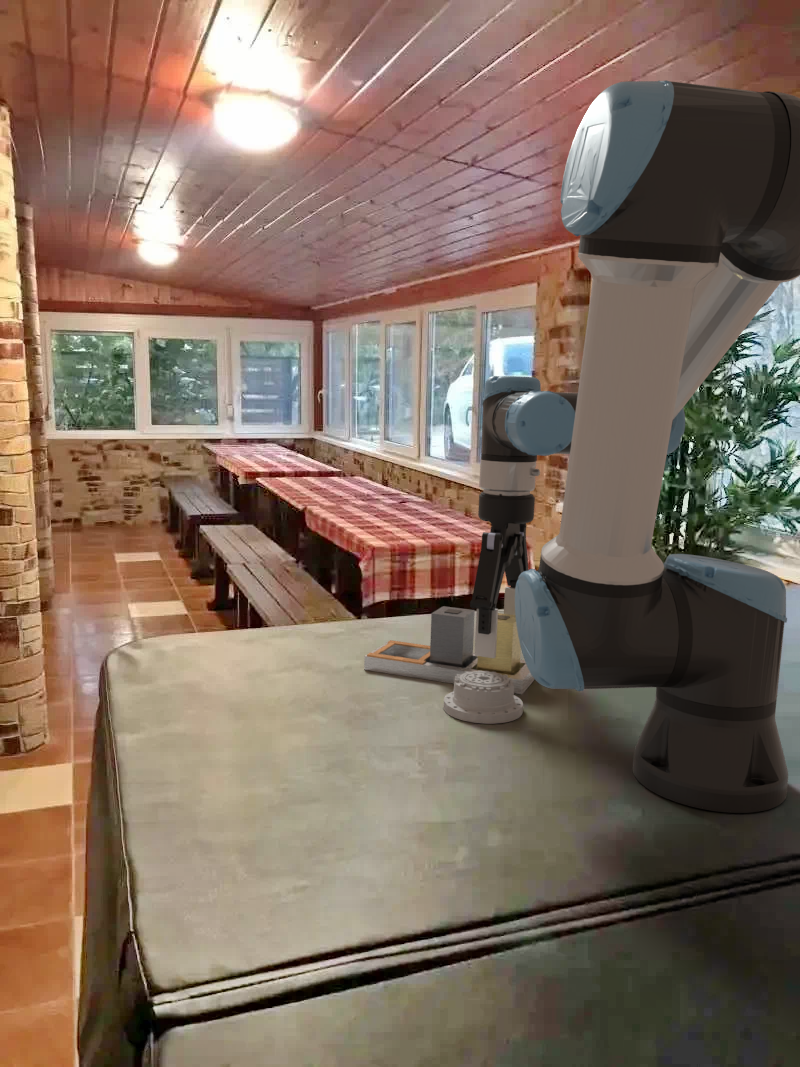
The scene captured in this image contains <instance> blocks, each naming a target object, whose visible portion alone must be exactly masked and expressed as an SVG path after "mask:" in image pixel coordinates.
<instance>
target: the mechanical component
mask: <svg viewBox="0 0 800 1067" xmlns="http://www.w3.org/2000/svg"><path fill="white" fill-rule="evenodd" d="M514 694H515V693H514V680H513V679H509V678H508V675H501V674H498V673H496V672H489V671H481V670H479V671H473V672H468V671H466V672H465V673H464V674H462V675H460V674H457V676H455V680H454V684H453V691H451V692H449V693H447V694H445V696H444V697H443V711H444V712H445V713H446V714H448V715H449V716H451V717H452V718H454V719H457V720H461V721H464V722H468V723H473V724H474V723H475V724H491V725H492V724H502V723H503V724H504V723H508V722H513V721H515V720H518V719H519V718H521V716H522V715H523V713H524V712H523V710H524V703H523V701H522V699H521V698H520V697H518V696H517V695H514Z"/></svg>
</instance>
